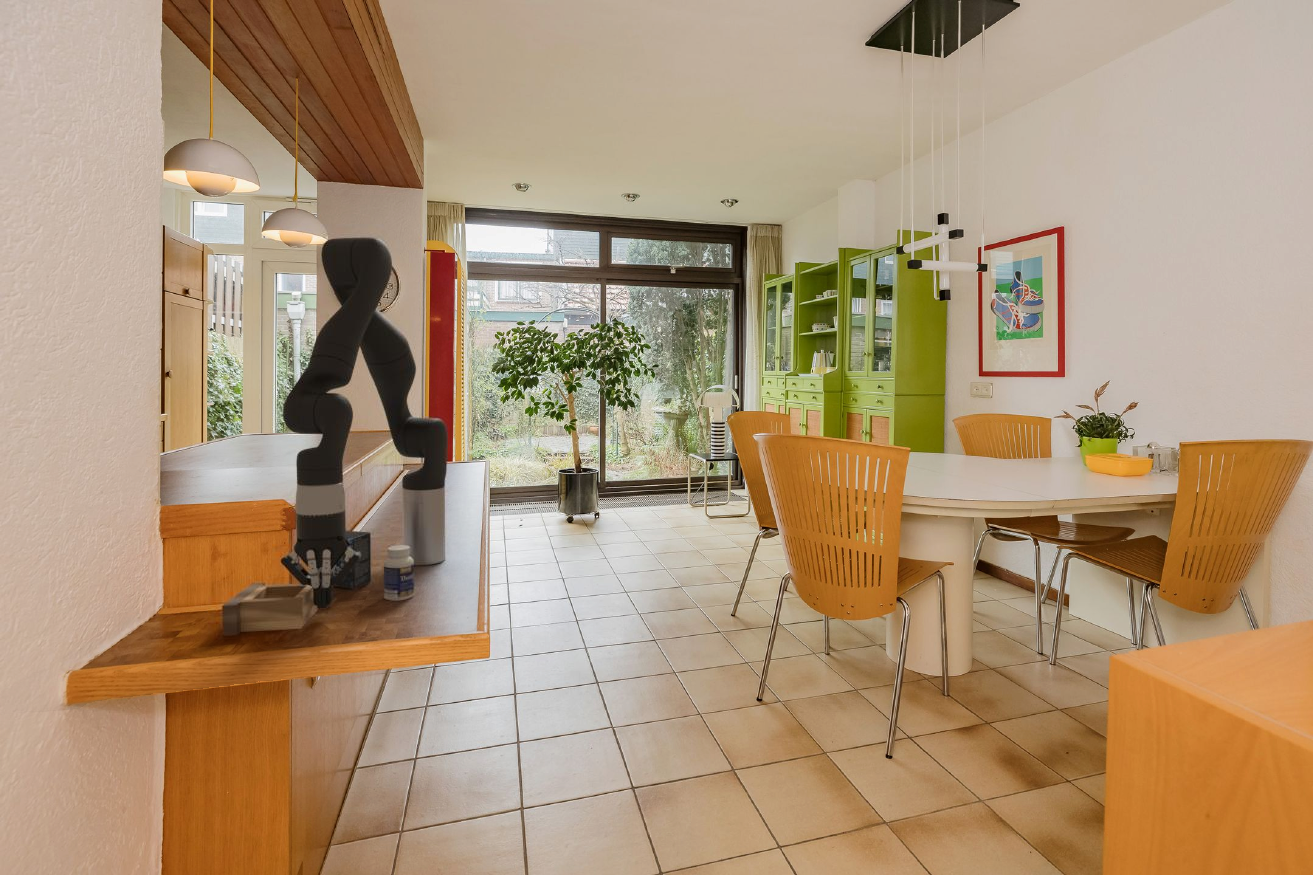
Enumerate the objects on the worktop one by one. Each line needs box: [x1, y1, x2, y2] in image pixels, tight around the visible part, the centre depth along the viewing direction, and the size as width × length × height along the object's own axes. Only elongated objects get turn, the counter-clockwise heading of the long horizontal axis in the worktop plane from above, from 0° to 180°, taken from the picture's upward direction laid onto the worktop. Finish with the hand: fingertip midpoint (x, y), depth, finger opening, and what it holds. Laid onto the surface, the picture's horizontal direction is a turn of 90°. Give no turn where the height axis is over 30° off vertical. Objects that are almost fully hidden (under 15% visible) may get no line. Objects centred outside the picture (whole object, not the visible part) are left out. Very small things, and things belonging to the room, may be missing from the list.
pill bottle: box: [383, 544, 415, 602], centre depth 124 cm, size 5×5×10 cm
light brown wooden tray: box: [240, 583, 318, 633], centre depth 111 cm, size 9×9×5 cm
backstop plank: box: [221, 582, 266, 637], centre depth 110 cm, size 12×2×5 cm, turn 12°
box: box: [333, 530, 372, 590], centre depth 131 cm, size 8×6×11 cm
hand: (323, 607), depth 112 cm, fingers closed
